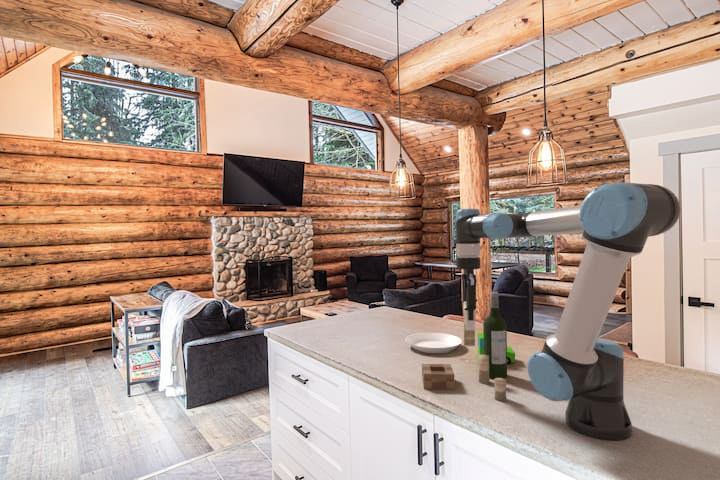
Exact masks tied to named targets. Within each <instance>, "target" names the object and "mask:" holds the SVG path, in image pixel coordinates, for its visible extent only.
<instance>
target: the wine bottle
mask: <svg viewBox="0 0 720 480" xmlns="http://www.w3.org/2000/svg"><path fill="white" fill-rule="evenodd" d="M489 295H490V306H489V307H490V309H489V311H490V312H489V315H488V316H487V317H486V318H485V319H484V321H483V324H482V326H483V327H482V328H483V336H484V355H488V356H489V379H491V380H492V379H493V380H495V378H503V379H505V380H506V379H507V377H508V365H507V347H508V342H507V340H508V339H507V334H508V333H507V329H508V328H507V325H508V324H507V323H506V320H505V319H504V318H503V317H502V316H501V315H500V308H499V307H500V306H499V305H500V302H499V292H497V291H491V292H490V294H489Z"/></svg>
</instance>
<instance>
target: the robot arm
mask: <svg viewBox="0 0 720 480" xmlns="http://www.w3.org/2000/svg"><path fill="white" fill-rule="evenodd" d="M681 209H682V208H681V203H680V201H679V199H678V196H676V195H675V193H674V192H672V190H670V189H669V188H667V187H664V186H663V185H659V184H652V183H650V184H649V183H647V184H646V183H636V182H625V181H619V182H618V181H617V182H610V183H605V184H601V185H600V186H599V185H598V186H597V187H596V188H594V189H593V190H591V191H590V192H589V193H587V195H586V197H584V199H583V201H582V203H581V204H580V205H573V206H571V205H570V206H565V207H560V208H559V207H558V208H553V209H552V208H551V209H545V210H538V211H530V212H522V213H501V212H492V213H483V214H481V212H480V209H478V208H461V209H458V210H456V216H455V237H456V238H455V240H456V243H455V249H456V250H455V253H456V256H457V258H456V269H458V270H463V273H462V274H461V276H460V278H461V289H462V290H461V291H462V292H461V295H462V297H461V298H462V301H461V302H462V305H463V311H464V310H466V330H475V331H476V311H475V310H477V282H478V281H477V275H476V274H475V271H474V270H480V269H481V267H482V266H481V257H479V256H481V250H482V249H483V246H482V245H481V239H486V240H487V239H488V240H490V239H492V240H501V239H512V238H513V239H514V238H519V239H520V238H523V239H525V238H526V239H527V238H528V239H529V238H533V237H543V236H544V237H545V236H559V235H570V234H571V235H572V234H582V235H581V238H582V240H583V241H584V243H585V245H586V246H585V249H584V252H583V255H582V258H581V261H580V263H579V265H578V269H577V272H576V275H575V278H574V280H573V282H572V286H571V289H570V291H569V294H568V298H567V300H566V303H565V306H564V308H563V311H562V314H561V317H560V320H559V323H558V325H557V328H556V331H555V333H552V334H549V335H548V336H547V337H546V338H545V342H544V345H543V347H542V349H541V351H540V352H535V353H534V354H533V355H531V356H529V359H528V362H527V367H526V369H527V374H528V377H529V379H530V382H531V384H532V386H533V387H534V389H535V390H536V391H537V393H539V394H540V395H541V396H542V397H543V398H545V399H547V400H549V401H551V402H562V401H566V402H567V401H568V403H567V406H566V409H565V414H564V417H565V423H566V425H568V426H569V427H570V428H571V429H573V430H575V431H576V432H578V433H580V434H582V435H585V436H588V437H592V438H595V439H600V440H607V441H608V440H609V441H619V440H620V441H621V440H625V439H626V440H627V439H628V438H630V437H631V436H632V435H633V425H632V421H631V418H630V415H629V413H628V410H627V407H626V405H625V400H624V369H625V366H624V361H625V357H624V350H623V347H622V345H620V344H619V343H617V342H615V341H612V340H607V339H605V338H600V337H599V336H600V334H601V332H602V329H603V326H604V325H605V322H606V319H607V316H608V314H609V311H610V310H611V306H612V304H613V301H614V299H615V297H616V294H617V292H618V289H619V286H620V284H621V282H622V279H623V276H624V274H625V272H626V269H627V267H628V264H629V262H630V261H631V258H633V257H635V256H637V255H640V254H642V252H643V249H644V248H645V245H646V242H647V240H648V238H649V237H655V236H659V235H662V234H664V233H666V232H667V231H670V230H671V229H672V228H673V227H674V226H675V224H677V222H678V220H679V218H680V215H681ZM464 301H466V308H464Z"/></svg>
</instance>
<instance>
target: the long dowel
mask: <svg viewBox="0 0 720 480" xmlns="http://www.w3.org/2000/svg"><path fill="white" fill-rule="evenodd" d="M464 308H466V301H464V306H463V345H464V346H467V347H474V346H475V345H476V338H475V337H476V329H475V330H466V310H464Z"/></svg>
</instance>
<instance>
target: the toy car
mask: <svg viewBox="0 0 720 480" xmlns="http://www.w3.org/2000/svg"><path fill="white" fill-rule="evenodd" d="M477 350H478V351H477V352H478V353H477V356H479V355H484V336H483V333H481V332H478V333H477ZM515 361H516V353H515V350H513V348H512V346H507V366H508V365H509V364H511V363H515Z"/></svg>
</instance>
